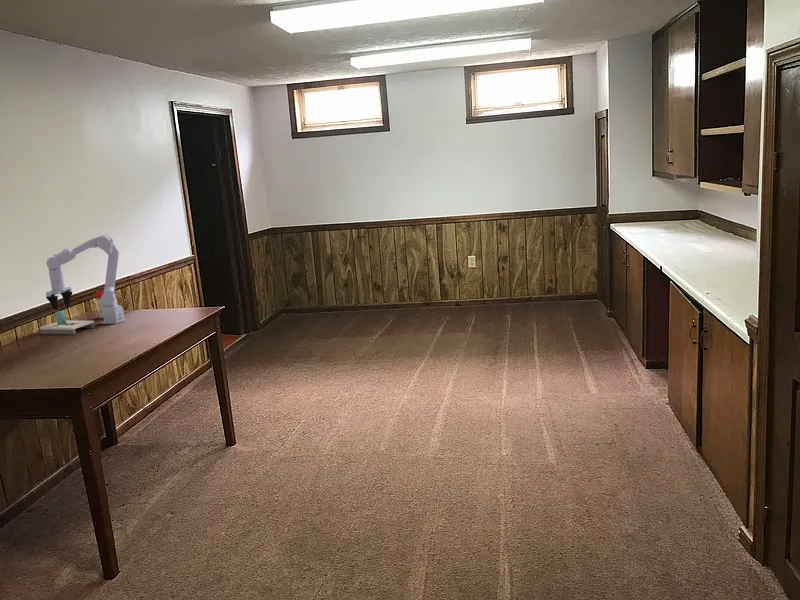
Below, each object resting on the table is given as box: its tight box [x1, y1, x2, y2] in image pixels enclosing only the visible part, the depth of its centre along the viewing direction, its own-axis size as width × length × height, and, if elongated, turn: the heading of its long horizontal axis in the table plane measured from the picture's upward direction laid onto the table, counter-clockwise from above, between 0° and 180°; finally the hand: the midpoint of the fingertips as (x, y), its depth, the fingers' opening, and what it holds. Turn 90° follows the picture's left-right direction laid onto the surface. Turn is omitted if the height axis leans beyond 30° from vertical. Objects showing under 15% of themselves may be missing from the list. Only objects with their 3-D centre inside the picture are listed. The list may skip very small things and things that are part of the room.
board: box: [39, 320, 95, 335], centre depth 336 cm, size 20×14×4 cm
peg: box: [54, 310, 67, 325], centre depth 336 cm, size 4×4×9 cm
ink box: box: [95, 290, 118, 319], centre depth 362 cm, size 8×5×15 cm, turn 84°
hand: (61, 307), depth 340 cm, fingers open, 7 cm apart
